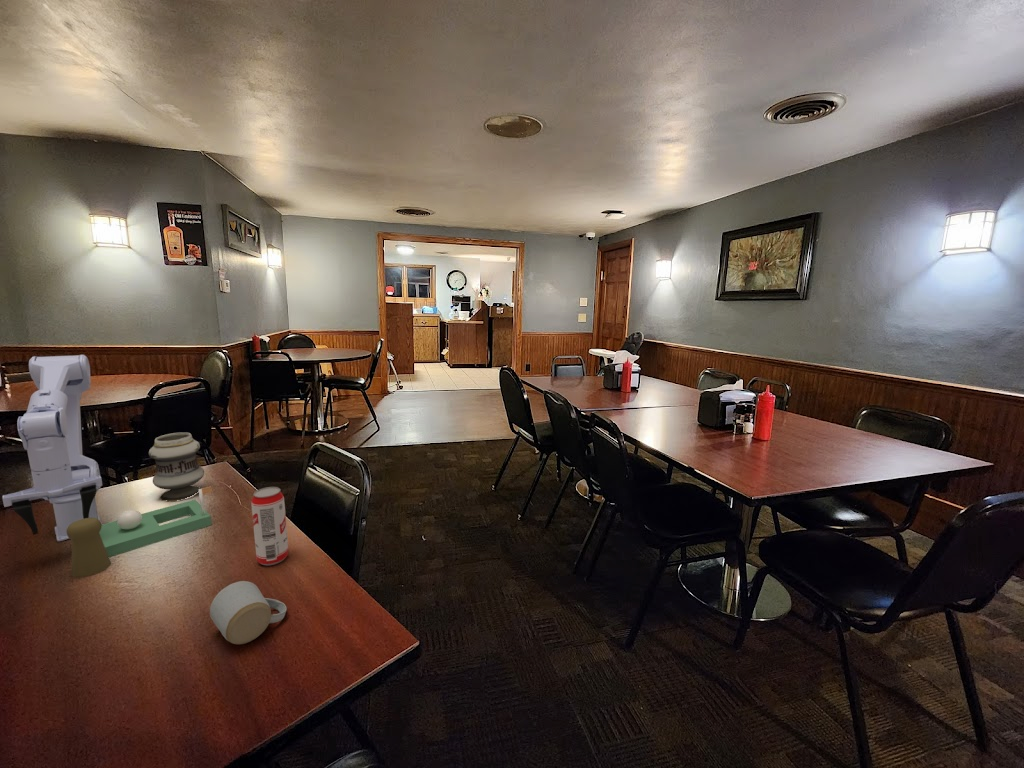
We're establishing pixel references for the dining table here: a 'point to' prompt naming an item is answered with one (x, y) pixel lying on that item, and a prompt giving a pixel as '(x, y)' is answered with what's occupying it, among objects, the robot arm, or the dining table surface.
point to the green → (154, 527)
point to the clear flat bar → (201, 493)
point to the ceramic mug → (244, 612)
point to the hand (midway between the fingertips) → (61, 525)
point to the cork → (87, 548)
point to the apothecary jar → (176, 465)
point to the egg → (129, 519)
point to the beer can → (269, 526)
